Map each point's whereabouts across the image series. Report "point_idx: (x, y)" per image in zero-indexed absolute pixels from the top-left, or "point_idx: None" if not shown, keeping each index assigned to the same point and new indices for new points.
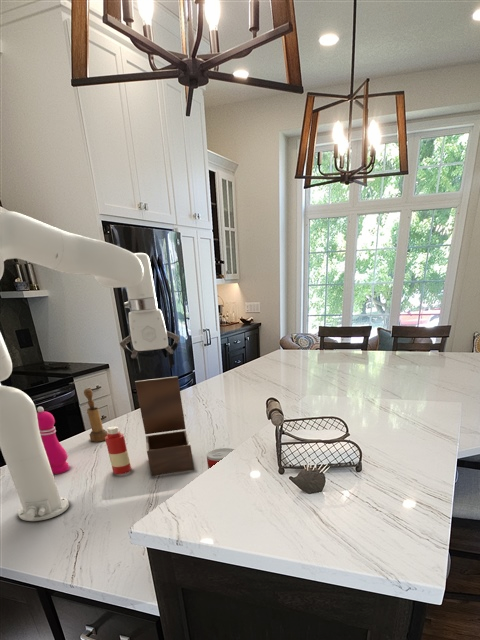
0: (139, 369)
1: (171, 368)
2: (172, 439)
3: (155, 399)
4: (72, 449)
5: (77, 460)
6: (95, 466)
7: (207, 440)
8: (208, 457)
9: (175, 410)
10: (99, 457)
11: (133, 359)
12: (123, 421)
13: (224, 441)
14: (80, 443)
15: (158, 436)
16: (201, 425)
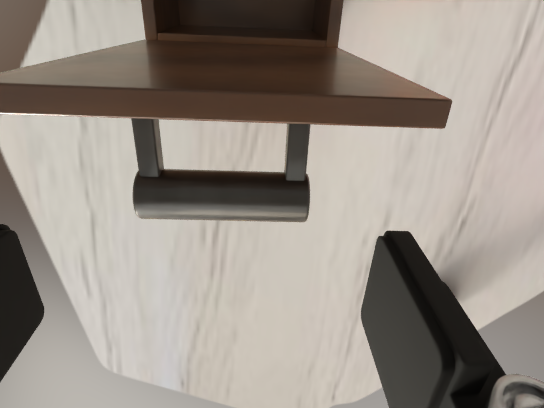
0: (391, 248)
1: (3, 225)
2: (219, 32)
3: (263, 65)
4: (517, 256)
5: (536, 158)
6: (506, 72)
7: (110, 167)
8: None
9: (153, 50)
10: (469, 156)
11: (497, 374)
12: (344, 396)
13: (45, 131)
14: (483, 292)
15: (279, 36)
16: (135, 302)
